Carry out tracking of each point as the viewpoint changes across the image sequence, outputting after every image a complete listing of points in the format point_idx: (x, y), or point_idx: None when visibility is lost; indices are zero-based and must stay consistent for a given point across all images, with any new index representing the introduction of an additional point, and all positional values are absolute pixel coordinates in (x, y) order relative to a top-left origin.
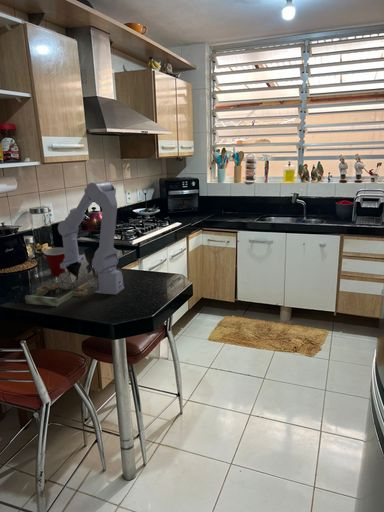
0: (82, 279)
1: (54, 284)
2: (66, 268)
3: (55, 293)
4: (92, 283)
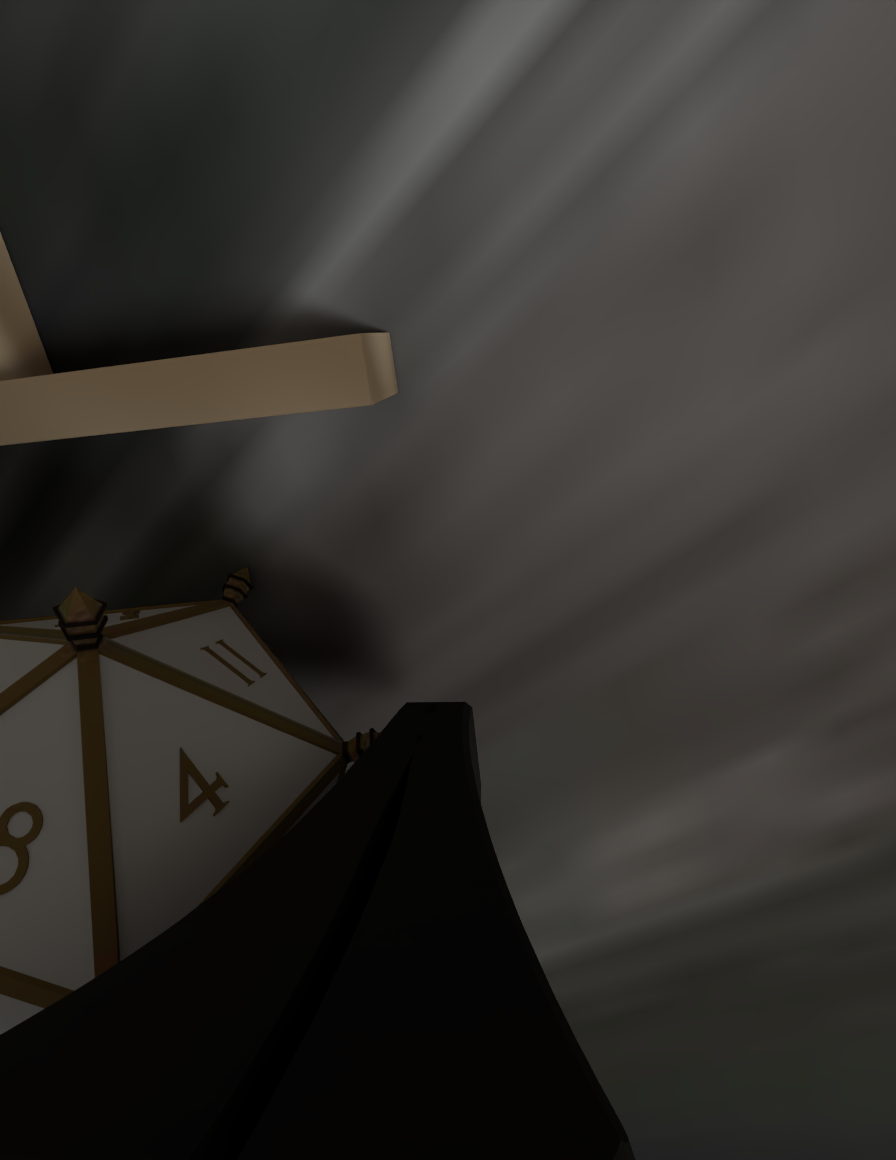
0: (827, 607)
1: (61, 424)
2: (73, 1013)
3: (4, 600)
4: (611, 877)
